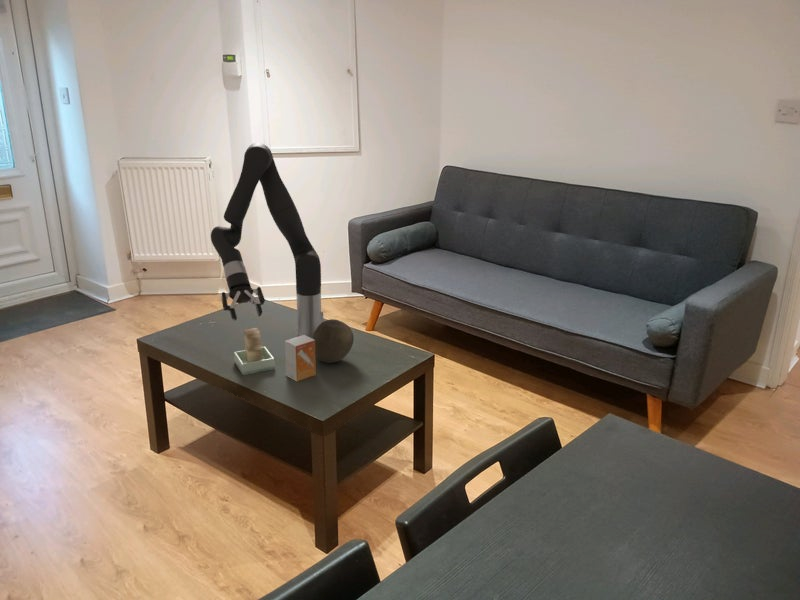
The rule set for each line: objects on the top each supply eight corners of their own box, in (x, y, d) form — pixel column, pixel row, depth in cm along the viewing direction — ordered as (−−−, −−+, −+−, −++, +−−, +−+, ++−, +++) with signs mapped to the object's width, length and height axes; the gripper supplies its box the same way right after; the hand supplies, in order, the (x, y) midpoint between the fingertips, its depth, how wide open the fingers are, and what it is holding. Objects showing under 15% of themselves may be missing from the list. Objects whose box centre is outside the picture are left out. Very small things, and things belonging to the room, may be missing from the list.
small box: (296, 382, 221) (295, 346, 216) (285, 375, 225) (284, 340, 221) (316, 374, 226) (315, 339, 222) (305, 368, 231) (304, 334, 226)
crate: (265, 356, 239) (264, 346, 238) (274, 369, 230) (274, 358, 229) (234, 362, 234) (233, 352, 233) (243, 375, 225) (242, 364, 224)
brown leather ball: (329, 373, 227) (328, 332, 222) (304, 360, 237) (303, 320, 232) (361, 361, 237) (361, 322, 231) (336, 349, 246) (335, 311, 241)
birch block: (258, 359, 235) (256, 327, 231) (262, 364, 231) (260, 332, 227) (246, 361, 233) (243, 329, 229) (249, 366, 229) (247, 334, 225)
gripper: (217, 274, 230) (228, 316, 225) (258, 268, 236) (269, 309, 231) (215, 284, 236) (226, 325, 231) (254, 278, 243) (266, 318, 237)
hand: (247, 317), depth 231 cm, fingers open, 8 cm apart
